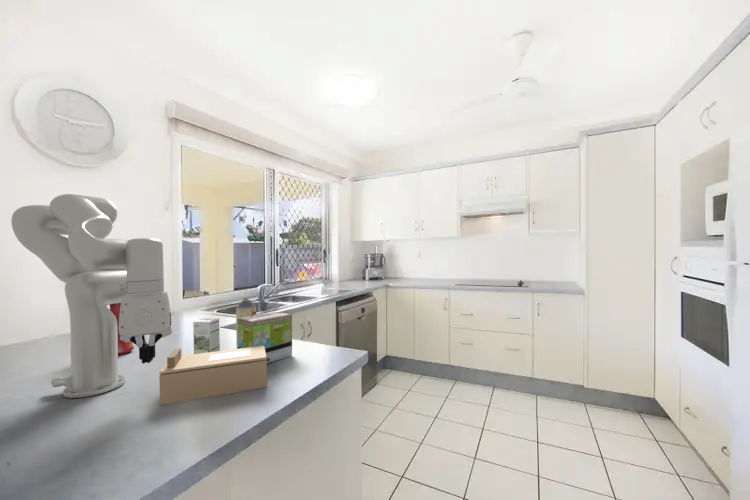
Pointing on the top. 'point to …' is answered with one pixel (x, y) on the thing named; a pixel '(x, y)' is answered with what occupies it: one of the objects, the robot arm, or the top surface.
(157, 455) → the top surface
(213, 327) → the syrup box
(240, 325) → the tea box
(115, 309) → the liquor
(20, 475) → the top surface
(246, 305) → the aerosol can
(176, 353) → the mailer lid
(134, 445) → the top surface
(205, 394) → the mailer box
